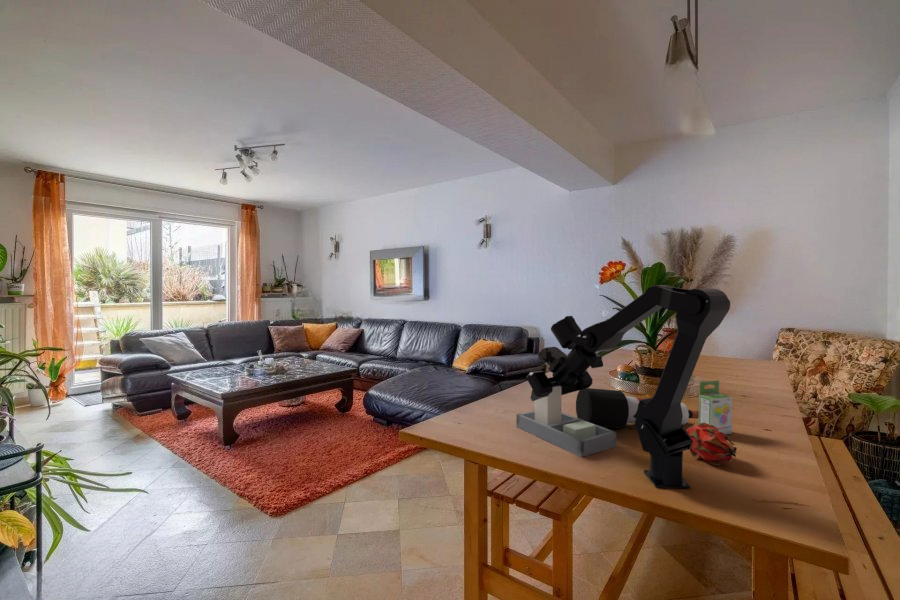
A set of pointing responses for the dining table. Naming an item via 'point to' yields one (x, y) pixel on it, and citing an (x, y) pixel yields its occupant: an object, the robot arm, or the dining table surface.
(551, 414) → the cream block
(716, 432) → the dragon fruit
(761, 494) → the dining table surface
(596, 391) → the black and white bottle
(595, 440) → the tray
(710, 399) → the ink box
